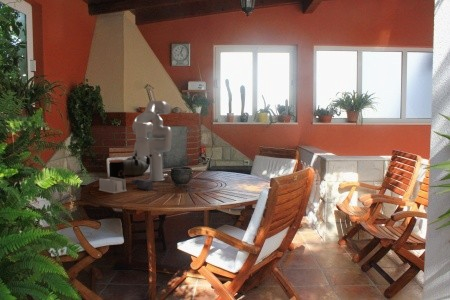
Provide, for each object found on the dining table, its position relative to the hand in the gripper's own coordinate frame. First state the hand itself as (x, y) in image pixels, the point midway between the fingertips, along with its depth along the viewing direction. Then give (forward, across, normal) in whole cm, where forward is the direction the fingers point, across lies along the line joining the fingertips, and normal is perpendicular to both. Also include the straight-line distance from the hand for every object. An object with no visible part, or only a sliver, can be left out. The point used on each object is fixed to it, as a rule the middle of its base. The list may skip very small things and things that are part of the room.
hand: (142, 164), depth 282 cm
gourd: (+17, -32, -56) cm, 67 cm away
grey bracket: (+17, +1, 0) cm, 17 cm away
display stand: (+17, +18, -10) cm, 26 cm away
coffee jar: (+17, +3, -28) cm, 32 cm away
